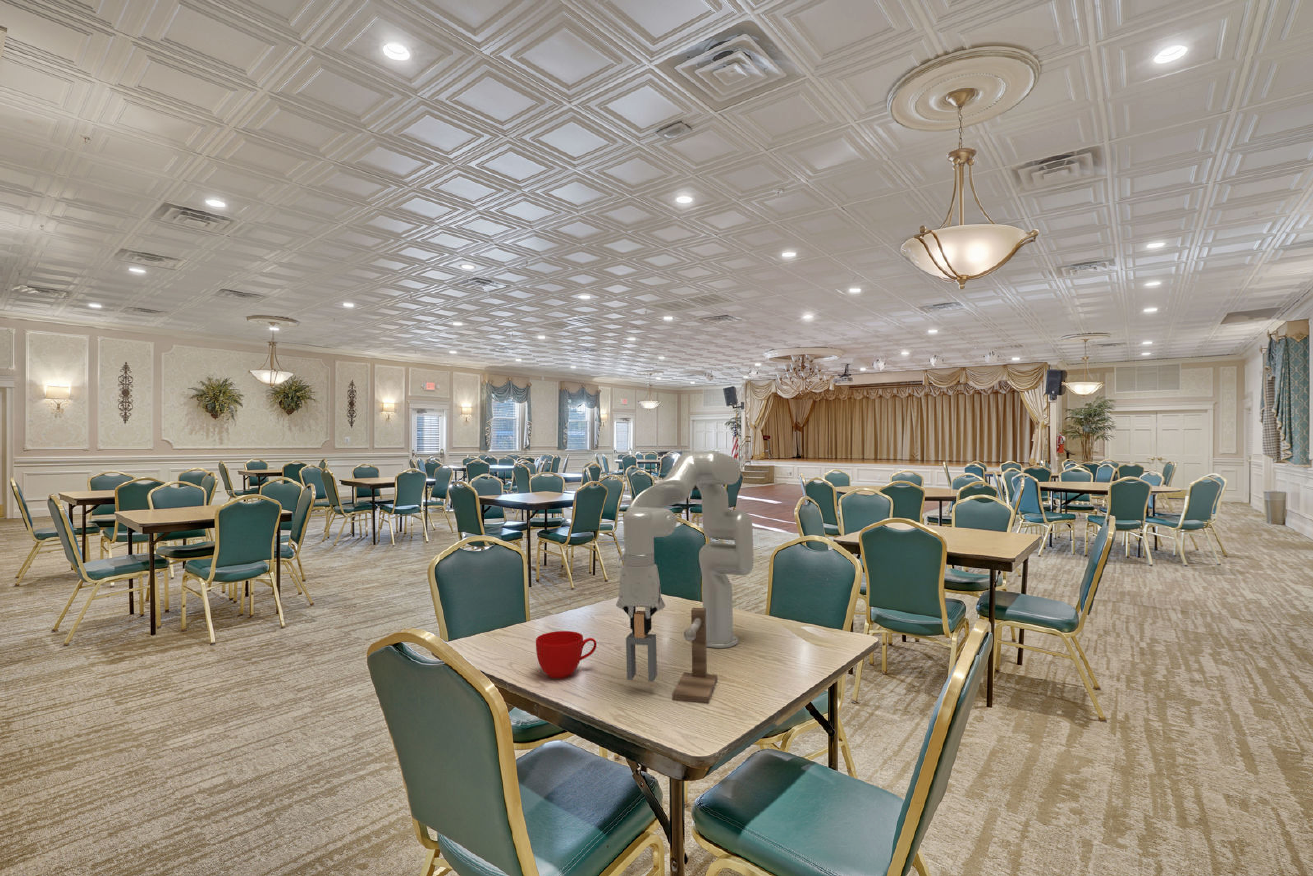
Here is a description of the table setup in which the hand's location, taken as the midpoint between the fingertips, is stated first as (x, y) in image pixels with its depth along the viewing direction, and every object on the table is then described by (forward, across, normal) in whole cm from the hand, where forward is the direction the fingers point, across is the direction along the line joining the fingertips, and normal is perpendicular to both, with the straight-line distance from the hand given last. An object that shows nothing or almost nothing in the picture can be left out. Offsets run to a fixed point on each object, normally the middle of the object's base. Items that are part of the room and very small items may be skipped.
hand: (641, 632), depth 149 cm
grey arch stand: (+12, 0, 0) cm, 12 cm away
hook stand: (+15, +13, +4) cm, 21 cm away
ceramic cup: (+16, -24, +9) cm, 30 cm away
